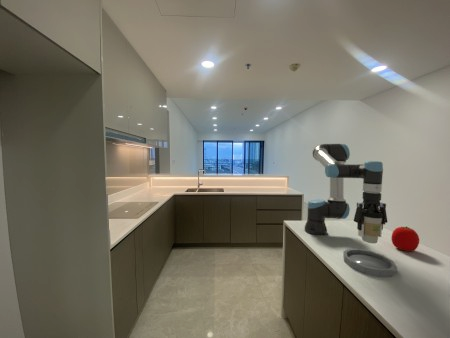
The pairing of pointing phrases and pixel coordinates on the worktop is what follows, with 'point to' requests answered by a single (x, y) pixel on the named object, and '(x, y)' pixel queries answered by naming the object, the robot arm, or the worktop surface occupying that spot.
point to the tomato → (405, 238)
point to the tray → (369, 262)
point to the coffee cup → (371, 226)
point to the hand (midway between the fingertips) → (369, 236)
